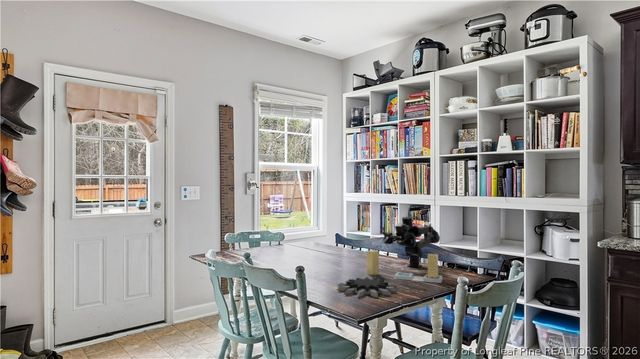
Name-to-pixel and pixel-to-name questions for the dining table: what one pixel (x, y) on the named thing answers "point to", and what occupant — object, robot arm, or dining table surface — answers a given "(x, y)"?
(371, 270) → the billet
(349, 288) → the decorative piece
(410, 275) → the white shallow tray
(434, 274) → the seated billet
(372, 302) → the dining table surface
